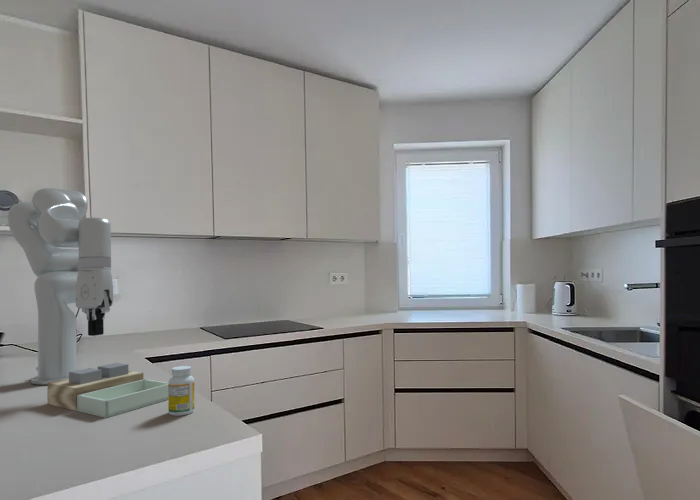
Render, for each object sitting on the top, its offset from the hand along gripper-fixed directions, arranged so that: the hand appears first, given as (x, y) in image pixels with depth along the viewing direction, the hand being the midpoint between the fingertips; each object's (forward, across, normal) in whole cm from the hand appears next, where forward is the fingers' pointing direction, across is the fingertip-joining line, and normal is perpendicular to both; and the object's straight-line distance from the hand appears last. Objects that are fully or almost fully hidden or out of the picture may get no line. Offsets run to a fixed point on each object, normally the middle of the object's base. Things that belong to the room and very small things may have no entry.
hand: (95, 334), depth 121 cm
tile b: (+10, +7, -7) cm, 14 cm away
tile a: (+10, +7, 0) cm, 12 cm away
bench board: (+15, +6, -3) cm, 16 cm away
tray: (+15, +18, -3) cm, 24 cm away
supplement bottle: (+16, +35, -2) cm, 38 cm away
